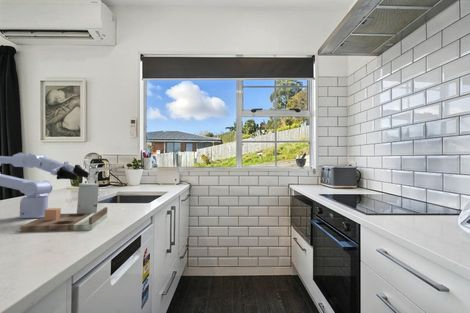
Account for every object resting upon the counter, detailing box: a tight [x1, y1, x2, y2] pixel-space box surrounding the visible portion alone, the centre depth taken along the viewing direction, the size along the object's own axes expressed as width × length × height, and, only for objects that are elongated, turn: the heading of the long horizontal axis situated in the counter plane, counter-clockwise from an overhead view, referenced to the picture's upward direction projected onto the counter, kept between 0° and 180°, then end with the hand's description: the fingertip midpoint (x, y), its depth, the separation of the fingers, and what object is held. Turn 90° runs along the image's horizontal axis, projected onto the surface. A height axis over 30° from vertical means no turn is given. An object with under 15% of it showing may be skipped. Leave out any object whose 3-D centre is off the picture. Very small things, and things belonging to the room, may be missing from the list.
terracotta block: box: [44, 207, 62, 220], centre depth 105 cm, size 4×4×4 cm
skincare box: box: [76, 182, 99, 213], centre depth 122 cm, size 8×6×15 cm
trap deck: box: [19, 206, 108, 233], centre depth 106 cm, size 23×22×4 cm
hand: (82, 176), depth 117 cm, fingers open, 7 cm apart
